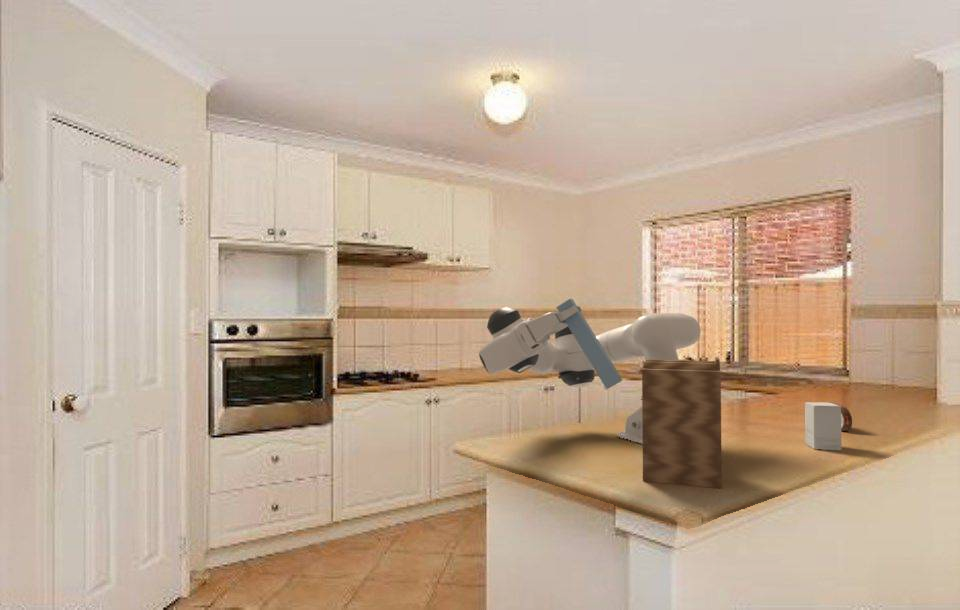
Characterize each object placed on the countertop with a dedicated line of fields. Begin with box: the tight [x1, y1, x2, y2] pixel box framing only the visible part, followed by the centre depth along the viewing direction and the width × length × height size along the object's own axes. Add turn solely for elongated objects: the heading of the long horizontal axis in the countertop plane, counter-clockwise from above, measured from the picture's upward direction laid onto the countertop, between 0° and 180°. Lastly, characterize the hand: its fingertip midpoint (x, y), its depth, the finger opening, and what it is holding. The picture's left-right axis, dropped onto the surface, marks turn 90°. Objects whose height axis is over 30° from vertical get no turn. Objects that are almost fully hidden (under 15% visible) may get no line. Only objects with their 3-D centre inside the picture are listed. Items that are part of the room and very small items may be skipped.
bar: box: [556, 298, 623, 390], centre depth 146 cm, size 24×4×4 cm
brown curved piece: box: [827, 401, 853, 432], centre depth 194 cm, size 15×3×8 cm, turn 179°
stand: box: [641, 356, 723, 489], centre depth 139 cm, size 17×14×28 cm
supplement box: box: [804, 401, 842, 451], centre depth 168 cm, size 7×7×13 cm
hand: (578, 308), depth 148 cm, fingers closed on bar, 4 cm apart
